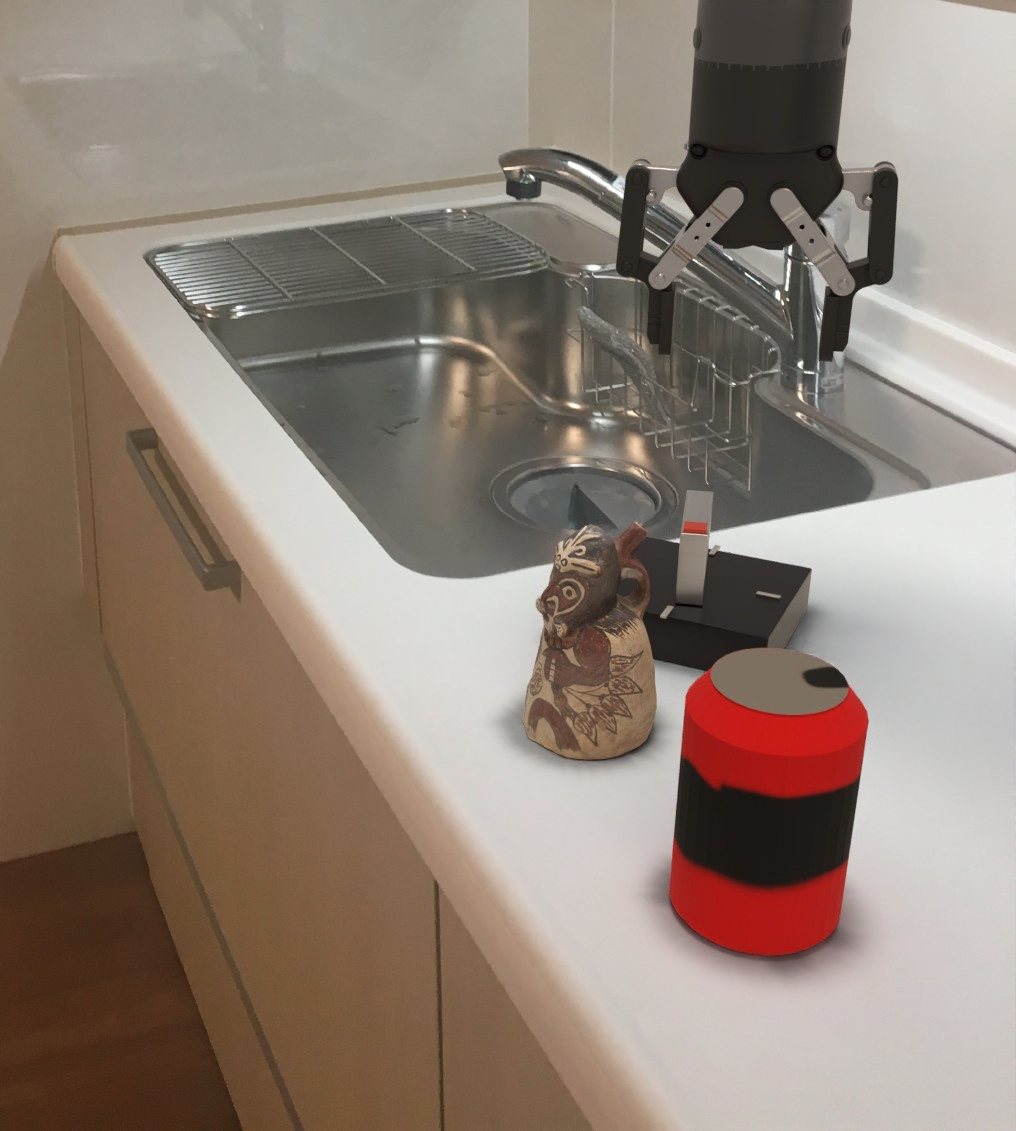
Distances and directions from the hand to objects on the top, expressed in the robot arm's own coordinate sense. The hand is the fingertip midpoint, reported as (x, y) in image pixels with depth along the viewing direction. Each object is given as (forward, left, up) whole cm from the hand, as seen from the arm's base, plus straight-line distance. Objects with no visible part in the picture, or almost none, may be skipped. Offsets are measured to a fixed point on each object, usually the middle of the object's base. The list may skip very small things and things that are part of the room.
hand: (743, 354), depth 86 cm
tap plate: (+2, -1, -18) cm, 18 cm away
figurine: (+3, +13, -18) cm, 22 cm away
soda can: (-9, +24, -18) cm, 31 cm away
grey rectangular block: (+2, -1, -15) cm, 15 cm away
